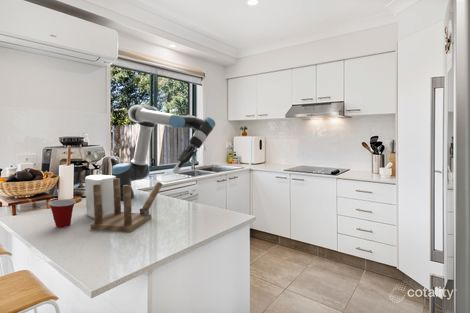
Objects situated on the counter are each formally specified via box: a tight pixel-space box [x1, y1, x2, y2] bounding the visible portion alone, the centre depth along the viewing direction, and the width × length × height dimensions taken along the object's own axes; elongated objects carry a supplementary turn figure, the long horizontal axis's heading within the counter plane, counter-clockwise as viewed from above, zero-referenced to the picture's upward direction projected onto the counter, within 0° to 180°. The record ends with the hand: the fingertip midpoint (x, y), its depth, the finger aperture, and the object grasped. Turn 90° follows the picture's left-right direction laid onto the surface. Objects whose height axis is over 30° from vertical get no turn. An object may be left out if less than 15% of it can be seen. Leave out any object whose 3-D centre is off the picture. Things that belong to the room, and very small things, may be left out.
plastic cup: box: [48, 198, 76, 229], centre depth 127 cm, size 11×11×12 cm
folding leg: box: [141, 181, 163, 211], centre depth 140 cm, size 3×3×16 cm
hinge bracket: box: [139, 207, 150, 216], centre depth 137 cm, size 2×5×3 cm, turn 46°
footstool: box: [89, 178, 152, 233], centre depth 130 cm, size 20×20×21 cm
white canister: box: [84, 174, 116, 220], centre depth 144 cm, size 15×14×22 cm
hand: (174, 171), depth 150 cm, fingers closed
